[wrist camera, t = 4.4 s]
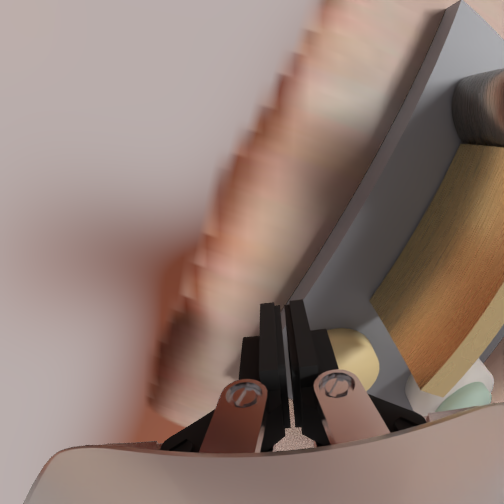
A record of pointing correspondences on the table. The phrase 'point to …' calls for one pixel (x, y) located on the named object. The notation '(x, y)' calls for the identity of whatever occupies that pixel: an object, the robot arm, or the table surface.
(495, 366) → the table surface
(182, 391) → the table surface
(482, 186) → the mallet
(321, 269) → the base
